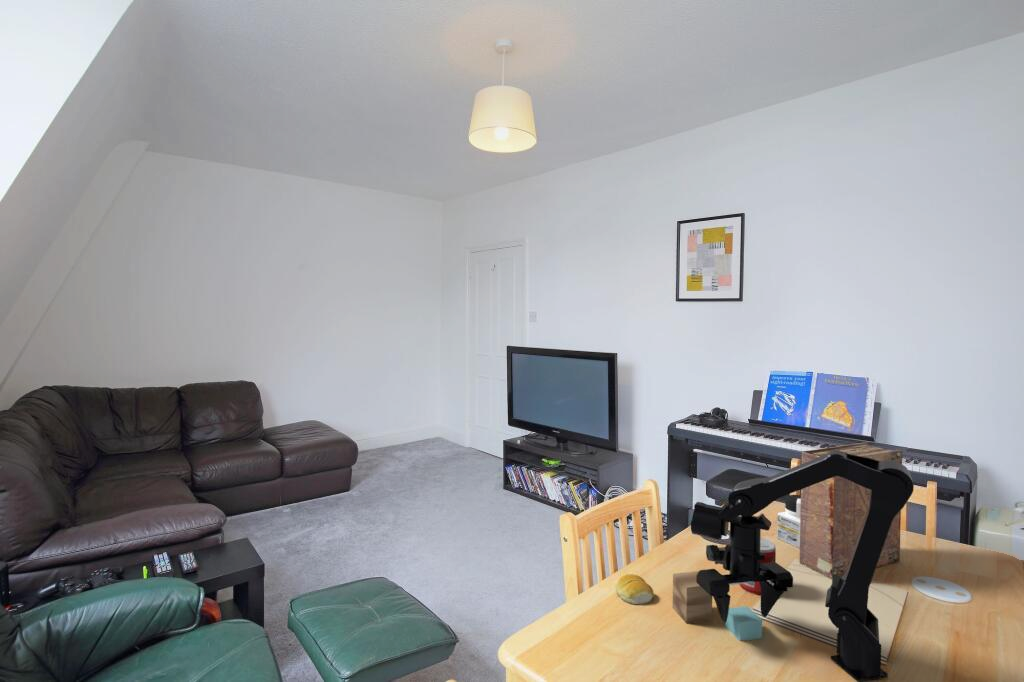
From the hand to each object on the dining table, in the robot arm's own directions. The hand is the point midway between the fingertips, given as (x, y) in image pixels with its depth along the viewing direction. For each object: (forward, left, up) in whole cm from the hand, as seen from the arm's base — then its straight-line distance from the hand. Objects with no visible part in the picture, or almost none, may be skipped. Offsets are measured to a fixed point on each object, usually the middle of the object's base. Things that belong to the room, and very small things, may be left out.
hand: (743, 618), depth 106 cm
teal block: (0, 0, -3) cm, 3 cm away
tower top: (+8, +7, +1) cm, 11 cm away
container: (+35, -42, -3) cm, 55 cm away
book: (+21, -46, -3) cm, 51 cm away
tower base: (+8, +7, -3) cm, 11 cm away
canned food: (+15, -14, -3) cm, 21 cm away
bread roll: (+18, +16, -3) cm, 24 cm away
